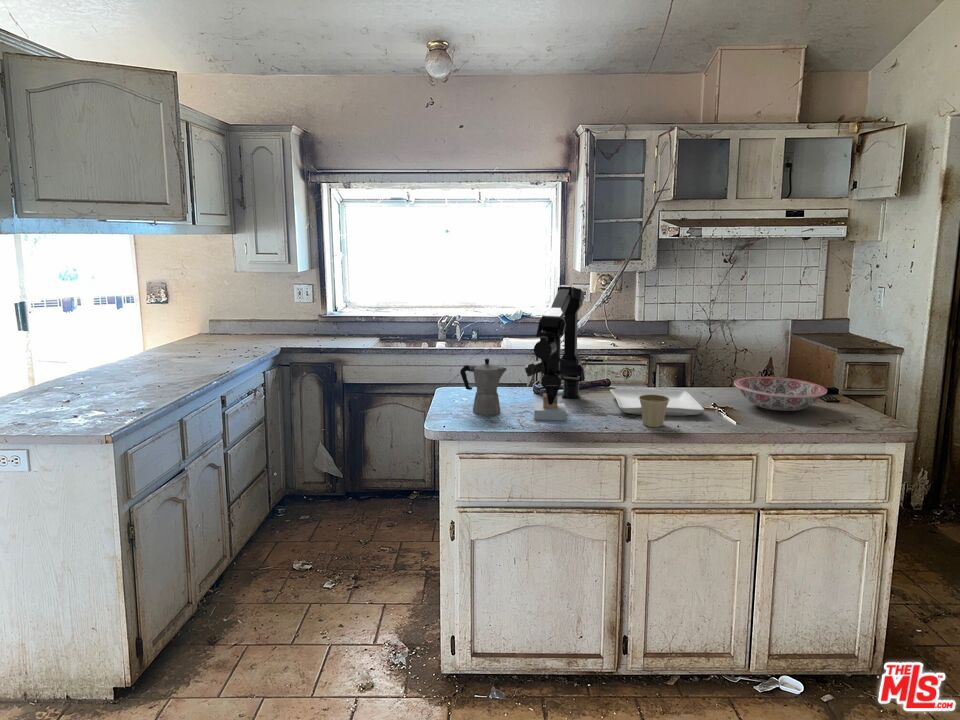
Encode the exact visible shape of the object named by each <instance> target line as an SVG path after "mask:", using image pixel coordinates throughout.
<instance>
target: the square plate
mask: <svg viewBox="0 0 960 720" xmlns="http://www.w3.org/2000/svg"><path fill="white" fill-rule="evenodd" d="M609 391H610V393H611V394H612V395H613V396H614V397H615V400H616V402H617V405H618V407H619V408H620V409H621V410H622V411H623V413H626V414H632V415H640V416H642V409H641V403H640V399H639V396H641V395H650V394H651V395H662V396H666V397H668V398H670V401H668V405H667V408H666V413H665V416H670V417H671V416H676V417H677V416H679V417H681V416H683V417H685V416H696V415H700V414H701V413H702V412H704V411H705V408H704V407H703V406H702V405H701V404H700V403H699V402H698V401H697V400H696V399H695V398H694V397H693V396H692V395H691V394H689V392H688V391H685V390H672V389H653V388H649V389H648V388H612V389H611V388H610V390H609Z"/></svg>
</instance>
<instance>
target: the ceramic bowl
mask: <svg viewBox="0 0 960 720" xmlns="http://www.w3.org/2000/svg"><path fill="white" fill-rule="evenodd" d="M734 386H735V387H736V388H737V389H739V390H740V392H741V394H742V396H743V397H744V398H745V399H747V401H748V402H750V403H751V404H753V405H755V406H757V407H759V408H763V409H767V410H772V411H782V412H789V411H790V412H793V411H799V410H804V409H806V408H808V407H810V406H812V405H813V404H814V403H815V402H817V401H818V400H819V398H820V397H821V396H824V395H826V394H827V392H828V389H827V388H826V387H824V386H823V385H821V384H818V383H815V382H811V381H806V380H802V379H801V380H800V379H796V378H789V377H776V376H747V377H742V378H738V379H735V380H734Z"/></svg>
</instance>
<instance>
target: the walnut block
mask: <svg viewBox="0 0 960 720" xmlns="http://www.w3.org/2000/svg"><path fill="white" fill-rule="evenodd" d="M542 395H543V396H542V397H543V399H542V401H543V402H542V403H543V408H546V409H557V403H558V400H559V399H558V394H557V395H556V397H555V399H554V401H553V403H552V405H549V404H548V398H547V392H543V394H542Z"/></svg>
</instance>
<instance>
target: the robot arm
mask: <svg viewBox="0 0 960 720" xmlns="http://www.w3.org/2000/svg"><path fill="white" fill-rule="evenodd" d="M584 300H585V292H584V290H582V288H579V287H577V288H576V287H574V286H572V285H563V284H562V285H560V286H559V285H558V287H557V293H556V296H555V297H554V300H553V302H552V304H551V307H550V308H549V309H547V310H545V311H544V312H543V314H542V316H541V317H540V318H539V321H538V325H537V331H536V333H535V335H536V336H535V337H536V338H539V341H537V342H536V343H535V345H534V347H533V353H534V355H535V356H536V358H538V359H539V360H536V361H533V362H530V363H527V364H525V365H524V371H525V374H526V376H527V377H531V376H533V375H536V374H539V373H540V375H541V377H540V379H541V380H540V385H541V387H543V389H545V393H547V398H548V404H549V405H552V403H553V401H554V399H555V397H556V395H557V396H558V392H559V391H560V388H561V385H562V392H561V398H562V399H581V395H580V391H579V390H580V383H582V382H585V381H586V380H585V379H586V375H585V374H586V373H585V369H584V366H583V365H582V358H581V357H580V355H579V354H578V312H579V311H580V309H581V308H582V306H583V302H584ZM562 337H564V338H563V339H564V340H563V341H564V342H563V346H564V347H563V348H564V349H563V355H562V357H561V341H562V340H561V339H562ZM562 381H563V383H562Z"/></svg>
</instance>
